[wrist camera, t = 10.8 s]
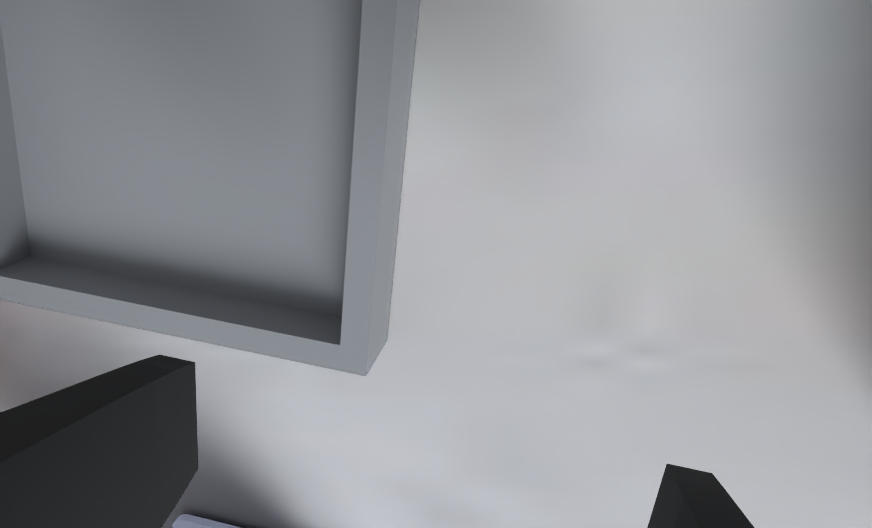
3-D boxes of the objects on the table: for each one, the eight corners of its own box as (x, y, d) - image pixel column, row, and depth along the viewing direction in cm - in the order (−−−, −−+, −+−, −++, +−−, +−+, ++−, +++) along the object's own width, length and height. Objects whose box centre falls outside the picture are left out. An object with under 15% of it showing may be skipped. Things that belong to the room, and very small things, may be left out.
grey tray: (387, 340, 20) (366, 376, 18) (26, 267, 22) (-30, 293, 20) (431, -128, 15) (410, -151, 13) (-33, -171, 17) (-114, -197, 15)
